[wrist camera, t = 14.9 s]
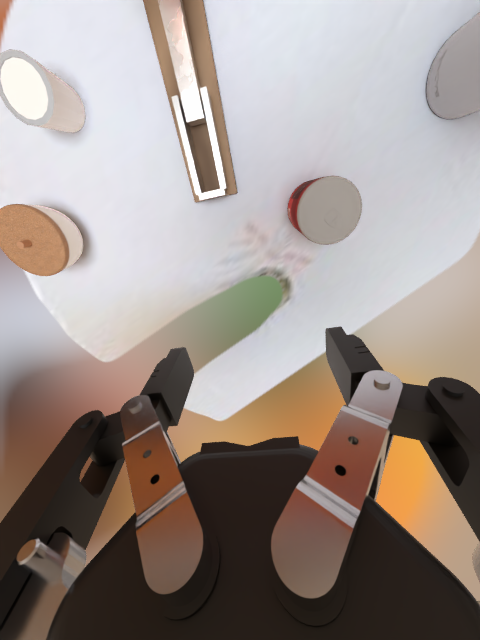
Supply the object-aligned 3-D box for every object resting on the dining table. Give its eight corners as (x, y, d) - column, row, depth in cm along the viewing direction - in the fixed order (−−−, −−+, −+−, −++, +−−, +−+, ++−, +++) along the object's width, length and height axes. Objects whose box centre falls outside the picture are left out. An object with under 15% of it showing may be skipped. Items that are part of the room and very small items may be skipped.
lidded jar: (27, 198, 40) (-32, 199, 32) (89, 207, 40) (45, 210, 32) (45, 260, 45) (-2, 274, 37) (99, 267, 45) (64, 283, 37)
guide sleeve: (210, 96, 31) (206, 86, 28) (229, 193, 37) (227, 193, 34) (178, 105, 32) (171, 96, 29) (201, 200, 38) (197, 200, 35)
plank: (185, -100, 25) (182, -110, 24) (237, 192, 38) (236, 192, 37) (126, -74, 26) (121, -84, 25) (196, 202, 39) (195, 202, 38)
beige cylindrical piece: (66, 147, 36) (27, 137, 30) (31, 94, 33) (-20, 71, 27) (99, 122, 34) (65, 106, 28) (65, 64, 31) (19, 32, 25)
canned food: (316, 241, 40) (336, 255, 31) (277, 218, 39) (285, 226, 29) (345, 197, 37) (377, 198, 27) (304, 170, 36) (322, 161, 26)
